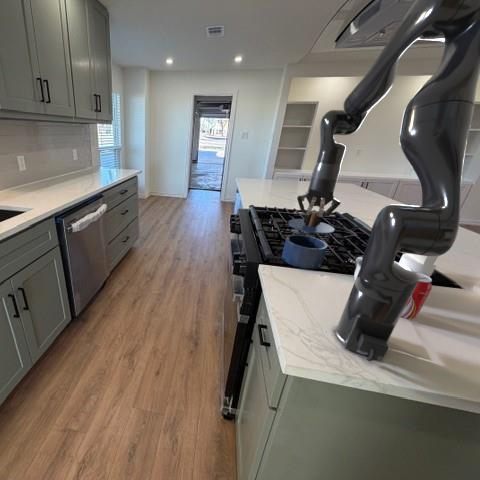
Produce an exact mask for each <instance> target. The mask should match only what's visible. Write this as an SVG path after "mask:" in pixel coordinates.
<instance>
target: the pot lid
mask: <svg viewBox="0 0 480 480" xmlns="http://www.w3.org/2000/svg"><path fill="white" fill-rule="evenodd" d="M318 213H319V211H315V210H311V212H310V217H309V221H308V224H307V225H305V223H304V218H292V219H290V220H288V225H289V226H290V227H291V228H293V229H295V230H298V231H301V232H305V233H309V234H314V235H315V234H316V235H330V234H333V233H334V232H335V228H334V227H333V226H331V225H330V224H327V223H325V222H322V221H321V222H320V224H319V225H317V227H316V226H315V223H316V219H317V216H318Z"/></svg>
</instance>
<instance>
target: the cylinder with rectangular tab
mask: <svg viewBox="0 0 480 480" xmlns="http://www.w3.org/2000/svg"><path fill="white" fill-rule="evenodd" d="M438 257H439V256H423V255H416V254H408V253H402V255H401V257H400V260H399V262H398V263H400V264H402V265H404V266H406V267H408V268H410V269H411V270H413V271H415V272H418V273H422V274H424V275H426V276H428V277H430V276H431V277H432V275H433V273H434V272H435V269H436V268H437V265H438V262H437V260H438ZM431 277H430V278H431Z"/></svg>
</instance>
